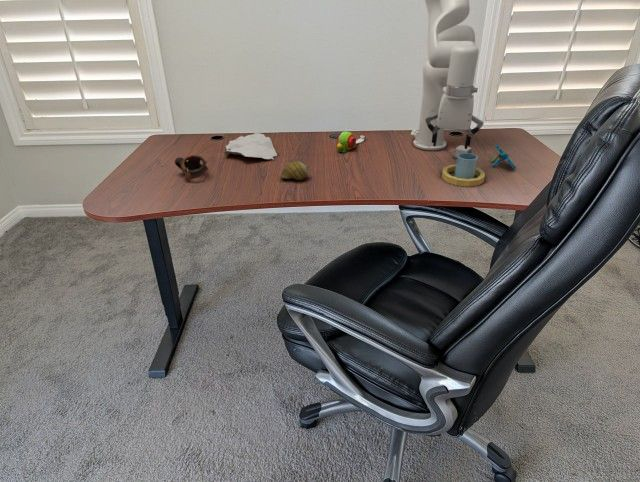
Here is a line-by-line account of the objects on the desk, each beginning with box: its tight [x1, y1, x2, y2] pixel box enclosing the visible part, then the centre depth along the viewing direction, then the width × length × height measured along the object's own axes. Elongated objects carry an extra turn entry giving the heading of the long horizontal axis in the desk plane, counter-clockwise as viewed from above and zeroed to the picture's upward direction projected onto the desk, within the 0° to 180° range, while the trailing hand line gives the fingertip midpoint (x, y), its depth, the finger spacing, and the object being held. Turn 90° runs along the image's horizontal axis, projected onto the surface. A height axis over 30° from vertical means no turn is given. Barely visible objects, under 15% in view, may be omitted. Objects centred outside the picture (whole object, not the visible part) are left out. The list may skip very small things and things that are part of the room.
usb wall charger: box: [449, 144, 473, 159], centre depth 154 cm, size 4×7×4 cm, turn 47°
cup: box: [453, 153, 479, 179], centre depth 138 cm, size 6×6×8 cm
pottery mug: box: [174, 154, 209, 182], centre depth 143 cm, size 12×10×8 cm
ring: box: [441, 164, 486, 188], centre depth 139 cm, size 13×13×2 cm
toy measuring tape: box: [336, 130, 367, 153], centre depth 165 cm, size 6×20×7 cm, turn 145°
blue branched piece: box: [491, 144, 516, 169], centre depth 146 cm, size 11×6×10 cm
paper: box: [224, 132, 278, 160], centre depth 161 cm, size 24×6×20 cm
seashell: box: [280, 160, 309, 181], centre depth 140 cm, size 10×7×8 cm
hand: (450, 146), depth 135 cm, fingers open, 9 cm apart
